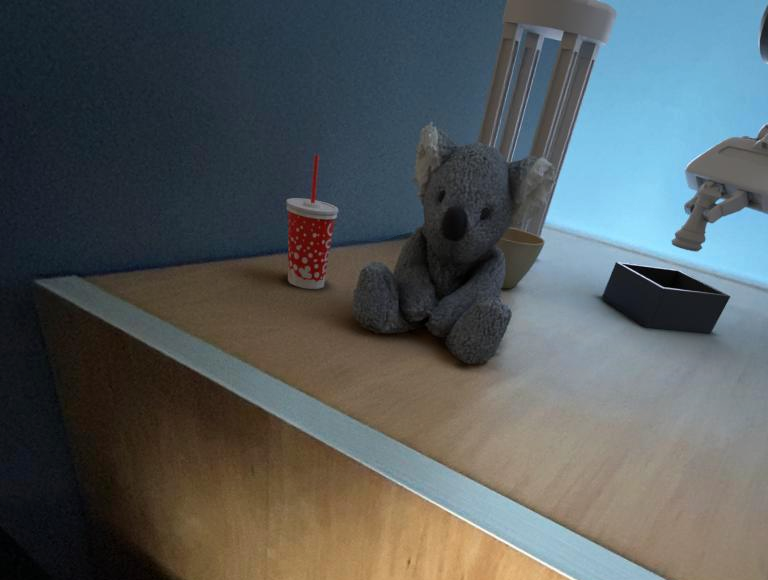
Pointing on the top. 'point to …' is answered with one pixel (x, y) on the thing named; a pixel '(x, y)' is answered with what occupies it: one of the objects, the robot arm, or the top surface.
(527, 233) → the flower pot
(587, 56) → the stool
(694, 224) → the rook chess piece
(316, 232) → the beverage cup
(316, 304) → the top surface
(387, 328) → the koala plush
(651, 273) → the bin
